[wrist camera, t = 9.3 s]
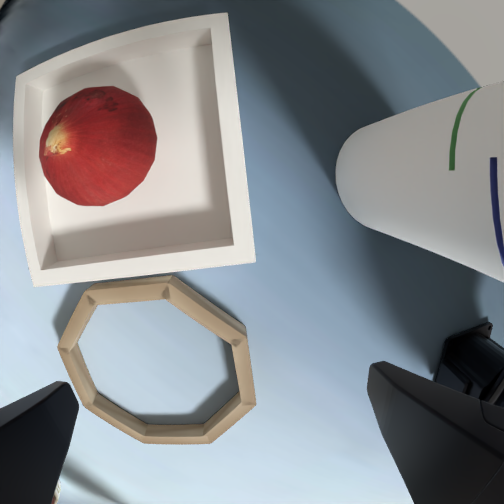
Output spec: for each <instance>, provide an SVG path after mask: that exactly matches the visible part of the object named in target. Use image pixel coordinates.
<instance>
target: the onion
mask: <svg viewBox="0 0 504 504" xmlns="http://www.w3.org/2000/svg"><path fill="white" fill-rule="evenodd" d="M156 146H157V134H156V130H155V126H154V121H153V118H152V116H151V114H150V113H149V111H148V110H147V108H146V107H145V106H144V104H143V103H142V102H141V100H140V99H139V98H138V97H136V96H134V95H132V94H130V93H128V92H126V91H124V90H122V89H120V88H117V87H115V86H101V87H89V88H84V89H82V90H80V91H78V92H77V93H75V94H73V95H71V96H70V97H68V98H66V99H64V100H63V101H61V102H60V103H59V105H58V106H57V107H56V109H55V110H54V112H53V114H52V115H51V117H50V118H49V120H48V121H47V123H46V124H45V127H44V129H43V132H42V135H41V138H40V144H39V159H40V162H41V166H42V170H43V173H44V176H45V178H46V179H47V180H48V182H49V183H50V185H51V186H52V188H53V189H54V191H55V192H56V194H58V195H59V196H61V197H63V198H65V199H66V200H68V201H70V202H72V203H74V204H76V205H81V206H105V205H107V204H110V203H112V202H115V201H117V200H120V199H122V198H124V197H126V196H128V195H129V194H130V193H131V192H132V191H133V190H134V189H135V188H136V187H137V186H138V185H140V184H141V183H142V182H143V181H144V179H145V177H146V176H147V174H148V172H149V170H150V168H151V166H152V164H153V163H154V161H155V154H156Z"/></svg>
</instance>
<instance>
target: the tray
mask: <svg viewBox="0 0 504 504" xmlns="http://www.w3.org/2000/svg"><path fill="white" fill-rule="evenodd" d="M101 86H115V87H117V88H120V89H122V90H124V91H126V92H128V93H130V94H132V95H134V96H136V97H138V98H139V99H140V100H141V102H142V103H143V104H144V106H145V107H146V108H147V110H148V111H149V113H150V114H151V116H152V118H153V121H154V126H155V130H156V134H157V146H156V154H155V161H154V163H153V164H152V166H151V168H150V170H149V172H148V174H147V176H146V177H145V179H144V181H143V182H142V183H141V184H140V185H138V186H137V187H136V188H135V189H134V190H133V191H132V192H131V193H130V194H129V195H128V196H126V197H124V198H122V199H120V200H117V201H115V202H112V203H110V204H107V205H105V206H81V205H76V204H74V203H72V202H70V201H68V200H66V199H65V198H63V197H61V196H59V195H58V194H56V192H55V191H54V189H53V188H52V186H51V185H50V183H49V182H48V180H47V179H46V178H45V176H44V173H43V170H42V166H41V162H40V159H39V144H40V138H41V135H42V132H43V129H44V127H45V124H46V123H47V121H48V120H49V118H50V117H51V115H52V114H53V112H54V110H55V109H56V107H57V106H58V105H59V103H60V102H61V101H63V100H64V99H66V98H68V97H70V96H71V95H73V94H75V93H77V92H78V91H80V90H82V89H84V88H89V87H101ZM13 157H14V175H15V187H16V196H17V205H18V212H19V219H20V226H21V231H22V237H23V242H24V247H25V252H26V257H27V261H28V266H29V270H30V274H31V278H32V282H33V285H34V287H40V286H50V285H60V284H69V283H79V282H88V281H97V280H107V279H116V278H125V277H134V276H143V275H152V274H160V273H169V272H178V271H186V270H195V269H203V268H212V267H220V266H228V265H237V264H245V263H253V262H256V258H255V248H254V239H253V230H252V221H251V213H250V204H249V195H248V186H247V177H246V168H245V159H244V150H243V141H242V133H241V124H240V115H239V106H238V98H237V89H236V80H235V71H234V63H233V54H232V46H231V37H230V28H229V20H228V13H218V14H209V15H202V16H195V17H188V18H182V19H177V20H172V21H166V22H162V23H157V24H153V25H148V26H144V27H140V28H136V29H133V30H129V31H125V32H122V33H119V34H115V35H112V36H109V37H106V38H103V39H100V40H97V41H94V42H91V43H88V44H86V45H83V46H80V47H78V48H75V49H73V50H70V51H68V52H66V53H63V54H61V55H59V56H56V57H54V58H52V59H50V60H47V61H45V62H43V63H41V64H39V65H37V66H35V67H33V68H31V69H29V70H27V71H25V72H23V73H22V74H20V75H18V76H16V84H15V96H14V113H13Z"/></svg>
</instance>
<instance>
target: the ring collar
mask: <svg viewBox="0 0 504 504" xmlns="http://www.w3.org/2000/svg"><path fill="white" fill-rule="evenodd" d="M161 299H166V300H167V301H168V302H170V303H171V304H172V305H174V306H175V307H177V308H178V309H179V310H181V311H182V312H184V313H185V314H187V315H188V316H189V317H191V318H192V319H194V320H195V321H197V322H198V323H200V324H201V325H202V326H204V327H205V328H207V329H208V330H210V331H211V332H213V333H214V334H216V335H217V336H219V337H220V338H222V339H223V340H225V341H227V342H228V343H230V344H231V345H232V351H233V356H234V362H235V368H236V374H237V379H238V385H239V392H238V393H237V394H236V395H235V396H234V397H233V398H232V399H231V400H230V401H228V402H227V403H226V404H225V405H224V406H223V407H222V408H221V409H220V410H219V411H218V412H217V413H216V414H214V415H213V416H212V417H211V418H210V419H209V420H208V421H207V422H206V423H204V424H186V425H151V424H146V423H144V422H143V421H141V420H139V419H138V418H136V417H134V416H133V415H131V414H129V413H128V412H126V411H124V410H123V409H121V408H120V407H118V406H116V405H115V404H113V403H112V402H110V401H109V400H107V399H106V398H104V397H103V396H101V395H100V394H98V392H97V390H96V388H95V385H94V383H93V381H92V378H91V376H90V374H89V371H88V369H87V367H86V364H85V362H84V359H83V356H82V354H81V351H80V349H79V346H78V343H77V342H78V340H79V338H80V336H81V334H82V333H83V331H84V329H85V327H86V325H87V323H88V322H89V320H90V318H91V316H92V314H93V313H94V311H95V309H96V307H97V305H102V304H115V303H127V302H139V301H150V300H161ZM57 348H58V351H59V353H60V356H61V358H62V360H63V363H64V365H65V367H66V370H67V372H68V374H69V377H70V379H71V381H72V383H73V385H74V387H75V390H76V392H77V394H78V396H79V398H80V400H81V402H82V404H83V406H84V407H85V408H86V409H88V410H89V411H91V412H92V413H94V414H95V415H97V416H98V417H100V418H101V419H103V420H105V421H106V422H108V423H109V424H111V425H113V426H114V427H116V428H117V429H119V430H121V431H123V432H124V433H126V434H128V435H129V436H131V437H133V438H135V439H137V440H138V441H140V442H142V443H146V444H210V443H212V442H213V441H214V440H216V439H217V438H218V437H219V436H221V435H222V434H223V433H224V432H225V431H227V430H228V429H229V428H230V427H231V426H233V425H234V424H235V423H236V422H237V421H238V420H240V419H241V418H242V417H243V416H244V415H245V414H247V413H248V412H249V411H250V410H251V409H252V408H253V407H254V406H256V398H255V390H254V383H253V376H252V369H251V361H250V354H249V347H248V340H247V333H246V327H245V326H244V325H243V324H241V323H240V322H238V321H237V320H236V319H234V318H233V317H231V316H230V315H228V314H227V313H225V312H224V311H222V310H221V309H220V308H218V307H217V306H215V305H214V304H213V303H211V302H210V301H208V300H207V299H205V298H204V297H203V296H201V295H200V294H199V293H197V292H196V291H194V290H193V289H192V288H190V287H189V286H188V285H186V284H185V283H183V282H182V281H181V280H179V279H178V278H177V277H175V276H173V275H168V276H159V277H150V278H141V279H132V280H123V281H113V282H104V283H95V284H93V285H92V286H91V287H89V288H88V289H87V290H86V291H84V293H83V295H82V297H81V299H80V301H79V303H78V305H77V307H76V308H75V310H74V312H73V314H72V316H71V318H70V321H69V323H68V325H67V327H66V329H65V331H64V333H63V335H62V337H61V339H60V342H59V344H58V346H57Z"/></svg>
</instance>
